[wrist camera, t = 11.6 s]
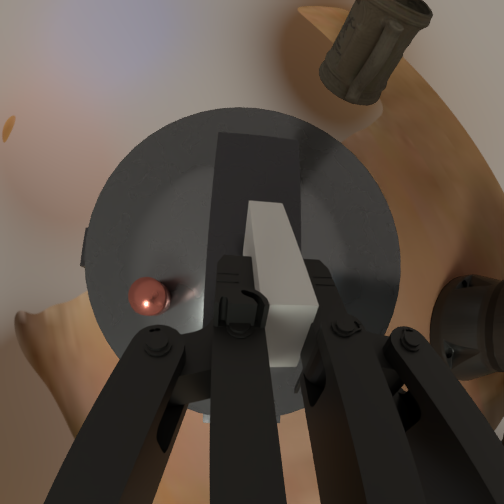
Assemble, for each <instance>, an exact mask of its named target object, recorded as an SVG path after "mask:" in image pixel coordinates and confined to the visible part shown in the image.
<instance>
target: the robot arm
mask: <svg viewBox="0 0 504 504" xmlns="http://www.w3.org/2000/svg"><path fill="white" fill-rule="evenodd" d="M430 343H431V345H430V344H429V342H428V341H427V340H426V339H425V337H424V336H423V335H422V334H420V333H419V332H418V331H416V330H415V329H413V328H410V327H405V326H403V327H397V328H396V329H394V330H393V331H392V333H391V335H390V336H384V335H380V334H375V333H371V332H368V331H366V330H365V327H364V326H363V324H362V323H361V321H359V320H358V319H357V318H356V317H354V316H352V315H350V314H348V313H347V311H346V309H345V306H344V304H343V301H342V299H341V297H340V294H339V292H338V290H337V287H335V283H334V280H333V279H332V276H331V274H330V271H329V269H328V268H327V267H326V266H325V265H324V264H323V263H322V262H321V261H320V260H317V259H303V258H302V255H301V252H300V250H299V247H298V244H297V241H296V238H295V236H294V233H293V230H292V228H291V225H290V222H289V219H288V217H287V214H286V211H285V209H284V206H283V203H273V202H262V201H250V200H249V204H248V212H247V221H246V230H245V238H244V247H243V256H235V255H223V256H222V257H221V259H220V260H219V261H218V262H217V274H216V289H215V301H214V315H213V318H212V320H211V322H210V323H209V324H208V325H207V326H206V327H204V328H202V329H200V330H198V331H194V332H190V333H185V334H180V333H179V332H178V331H177V330H176V329H174V328H172V327H170V326H167V325H159V324H157V325H151V326H147V327H145V328H143V329H141V330H139V332H138V333H137V334H136V335H135V336H134V337H133V339H132V340H131V342H130V343H129V345H128V347H127V348H126V350H125V352H124V353H123V355H122V357H121V358H120V360H119V362H118V363H117V365H116V367H115V368H114V370H113V372H112V374H111V375H110V377H109V379H108V380H107V382H106V384H105V386H104V387H103V389H102V391H101V393H100V394H99V396H98V398H97V400H96V401H95V403H94V405H93V407H92V409H91V410H90V412H89V414H88V416H87V418H86V420H85V421H84V423H83V425H82V427H81V429H80V431H79V433H78V435H77V436H76V438H75V440H74V442H73V444H72V446H71V448H70V450H69V452H68V454H67V456H66V458H65V460H64V462H63V464H62V466H61V468H60V470H59V472H58V474H57V476H56V478H55V480H54V483H53V485H52V487H51V489H50V491H49V493H48V495H47V498H46V500H45V502H44V504H152V503H153V500H154V497H155V494H156V492H157V489H158V486H159V483H160V481H161V478H162V475H163V473H164V470H165V467H166V464H167V462H168V459H169V456H170V453H171V451H172V448H173V445H174V443H175V440H176V437H177V434H178V432H179V429H180V426H181V424H182V421H183V418H184V416H185V413H186V410H187V407H188V405H189V403H193V402H197V401H202V400H206V399H210V504H287V502H286V494H285V485H284V477H283V469H282V461H281V453H280V444H279V436H278V428H277V420H276V412H275V404H274V396H273V388H272V380H271V372H270V367H297V364H298V362H299V359H300V357H301V362H302V366H303V369H302V371H301V374H300V376H299V378H298V381H297V383H296V385H295V388H294V393H298V391H299V389H300V387H301V392H302V397H303V402H304V408H305V413H306V419H307V424H308V430H309V436H310V441H311V447H312V453H313V459H314V465H315V471H316V477H317V483H318V489H319V495H320V502H321V504H504V435H503V439H502V441H500V440H499V438H498V436H497V435H496V433H495V432H494V430H493V429H492V427H491V426H490V424H489V423H488V421H487V420H486V418H485V417H484V415H483V414H482V413H481V411H480V410H479V408H478V407H477V405H476V404H475V403H474V401H473V400H472V398H471V397H470V396H469V394H468V393H467V392H466V390H465V389H464V387H463V386H462V385H461V383H460V382H459V381H458V380H462V381H466V380H472V379H475V378H478V377H482V376H485V375H488V374H491V373H494V372H504V280H502V281H501V280H497V279H492V278H488V277H484V276H479V275H465V276H461V277H457V278H455V279H453V280H452V281H450V282H449V283H448V284H447V285H446V286H445V287H444V289H443V290H442V291H441V293H440V295H439V297H438V299H437V301H436V304H435V307H434V310H433V314H432V319H431V327H430ZM404 384H405V385H406V387H407V388H408V391H407V392H406V391H404V390H403V389H402V388H401V387H402V386H403V385H404Z"/></svg>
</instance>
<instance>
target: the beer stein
mask: <svg viewBox="0 0 504 504" xmlns="http://www.w3.org/2000/svg"><path fill="white" fill-rule="evenodd" d="M432 16H433V14H432V11H431V9H430V8H429V7H428V5H427V4H426V3H425V2H424V1H422V0H356V1H355V3H354V4H353V7H352V8H351V11H350V13H349V15H348V17H347V19H346V21H345V23H344V25H343V27H342V29H341V31H340V33H339V35H338V37H337V38H336V40H335V42H334V44H333V46H332V48H331V50H330V51H329V52H328V53H327V55H326V58H325V60H324V61H323V63H322V64H321V66H320V68H319V76H320V79H321V81H322V82H323V84H324V85H325V86H326V88H327V89H328V90H330V91H331V92H332V93H333V94H335V95H336V96H338V97H339V98H341V99H343V100H345V101H347V102H350V103H352V104H358V105H371V104H374V103H376V102H377V101H378V99H379V98H380V95H381V92H382V91H383V90H384V89H385V87H386V85H387V81H388V79H389V77H390V75H391V74H392V72H393V71H394V69H395V67H396V66H397V64H398V63H399V61H400V60H401V58H402V56H403V53H404V51H405V49H406V48H407V47H408V46H409V44H410V43H411V41H412V39H413V38H414V37H415V35H416V34H417V33H418V31H419V30H421V29H423V28H426V27H427V26H428V25H429V23H430V20H431V18H432Z"/></svg>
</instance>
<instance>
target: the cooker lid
mask: <svg viewBox="0 0 504 504" xmlns="http://www.w3.org/2000/svg"><path fill="white" fill-rule="evenodd" d="M249 200H250V201H262V202H273V203H283V206H284V209H285V211H286V214H287V217H288V219H289V222H290V225H291V228H292V230H293V233H294V236H295V238H296V241H297V244H298V247H299V250H300V252H301V255H302V258H303V259H317V260H320V261H321V262H322V263H323V264H324V265H325V266H326V267H327V268H328V269H329V271H330V274H331V276H332V279H333V280H334V283H335V287H337V290H338V292H339V294H340V297H341V299H342V301H343V304H344V306H345V309H346V311H347V313H348V314H350V315H352V316H354V317H356V318H357V319H358V320H359V321H361V323H362V324H363V326H364V327H365V330H366V331H368V332H371V333H375V334H380V335H384V334H385V333H386V330H387V328H388V325H389V323H390V320H391V318H392V315H393V312H394V308H395V305H396V301H397V297H398V291H399V283H400V249H399V241H398V235H397V231H396V227H395V224H394V220H393V217H392V214H391V212H390V209H389V206H388V204H387V201H386V199H385V198H384V196H383V194H382V192H381V190H380V188H379V186H378V184H377V183H376V182H375V180H374V179H373V177H372V176H371V174H370V173H369V171H368V170H367V169H366V168H365V166H364V165H363V164H362V163H361V162H360V161H359V160H358V159H357V157H356V156H355V155H354V154H353V153H352V152H350V151H349V150H348V149H347V148H346V147H345V146H344V145H343V144H341V143H340V142H339V141H337V140H336V139H335V138H333V137H332V136H330V135H329V134H328V133H326V132H324V131H323V130H321V129H319V128H317V127H315V126H314V125H311V124H310V123H308V122H305V121H303V120H300V119H298V118H296V117H293V116H290V115H286V114H283V113H279V112H276V111H270V110H264V109H257V108H241V107H238V108H222V109H215V110H210V111H204V112H200V113H197V114H193V115H190V116H187V117H184V118H182V119H179V120H177V121H175V122H173V123H171V124H168V125H166V126H165V127H163V128H161V129H159V130H158V131H156V132H155V133H153V134H151V135H150V136H148V137H147V138H146V139H145V140H143V141H142V142H141V143H140V144H138V145H137V146H136V147H135V148H134V149H133V150H132V151H131V152H130V153H129V154H128V155H127V156H126V157H125V158H124V159H123V160H122V161H121V162H120V164H119V165H118V166H117V168H116V169H115V170H114V172H113V173H112V174H111V176H110V177H109V178H108V180H107V182H106V184H105V186H104V187H103V189H102V191H101V193H100V195H99V197H98V199H97V202H96V204H95V207H94V210H93V212H92V215H91V219H90V223H89V227H88V231H87V236H86V246H85V277H86V284H87V289H88V295H89V300H90V303H91V306H92V309H93V312H94V315H95V318H96V320H97V323H98V325H99V327H100V329H101V331H102V333H103V335H104V337H105V338H106V340H107V342H108V344H109V345H110V347H111V348H112V349H113V351H114V352H115V354H116V355H117V356H118V358H119V359H120V358H121V357H122V355H123V353H124V352H125V350H126V348H127V347H128V345H129V343H130V342H131V340H132V339H133V337H134V336H135V335H136V334H137V333H138V332H139V330H141V329H143V328H145V327H147V326H151V325H157V324H159V325H167V326H170V327H172V328H174V329H176V330H177V331H178V332H179V333H180V334H185V333H190V332H194V331H198V330H200V329H202V328H204V327H206V326H207V325H208V324H209V323H210V322H211V320H212V318H213V315H214V301H215V289H216V274H217V262H218V261H219V260H220V259H221V257H222V256H223V255H235V256H243V247H244V238H245V230H246V221H247V212H248V204H249ZM302 369H303V366H302V362H301V357H300V359H299V362H298V364H297V367H270V372H271V380H272V388H273V396H274V404H275V412H276V416H279V415H284V414H288V413H292V412H294V411H297V410H300V409H303V408H304V402H303V397H302V392H301V387H300V389H299V391H298V393H294V388H295V385H296V383H297V381H298V378H299V376H300V374H301V371H302ZM187 408H188V409H190V410H193V411H196V412H198V413H203V414H207V415H210V399H206V400H202V401H197V402H193V403H189V405H188V407H187Z"/></svg>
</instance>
